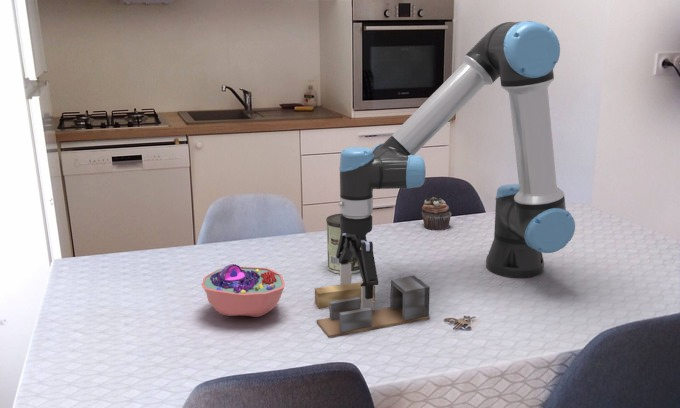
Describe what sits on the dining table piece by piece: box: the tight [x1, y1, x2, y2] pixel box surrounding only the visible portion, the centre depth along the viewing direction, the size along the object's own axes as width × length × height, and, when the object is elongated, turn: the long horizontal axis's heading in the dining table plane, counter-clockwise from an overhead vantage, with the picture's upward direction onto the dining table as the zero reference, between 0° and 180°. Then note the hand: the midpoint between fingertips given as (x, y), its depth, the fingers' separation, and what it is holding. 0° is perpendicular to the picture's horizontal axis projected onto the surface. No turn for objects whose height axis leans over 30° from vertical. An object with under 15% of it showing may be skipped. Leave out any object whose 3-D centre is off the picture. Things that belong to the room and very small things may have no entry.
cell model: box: [201, 263, 286, 318], centre depth 146 cm, size 17×20×11 cm
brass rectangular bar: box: [314, 281, 376, 309], centre depth 152 cm, size 14×4×4 cm, turn 107°
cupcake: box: [421, 195, 452, 231], centre depth 208 cm, size 10×10×10 cm
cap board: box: [316, 275, 430, 339], centre depth 142 cm, size 24×8×8 cm, turn 111°
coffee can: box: [325, 213, 360, 275], centre depth 173 cm, size 10×10×14 cm
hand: (355, 299), depth 154 cm, fingers open, 13 cm apart
